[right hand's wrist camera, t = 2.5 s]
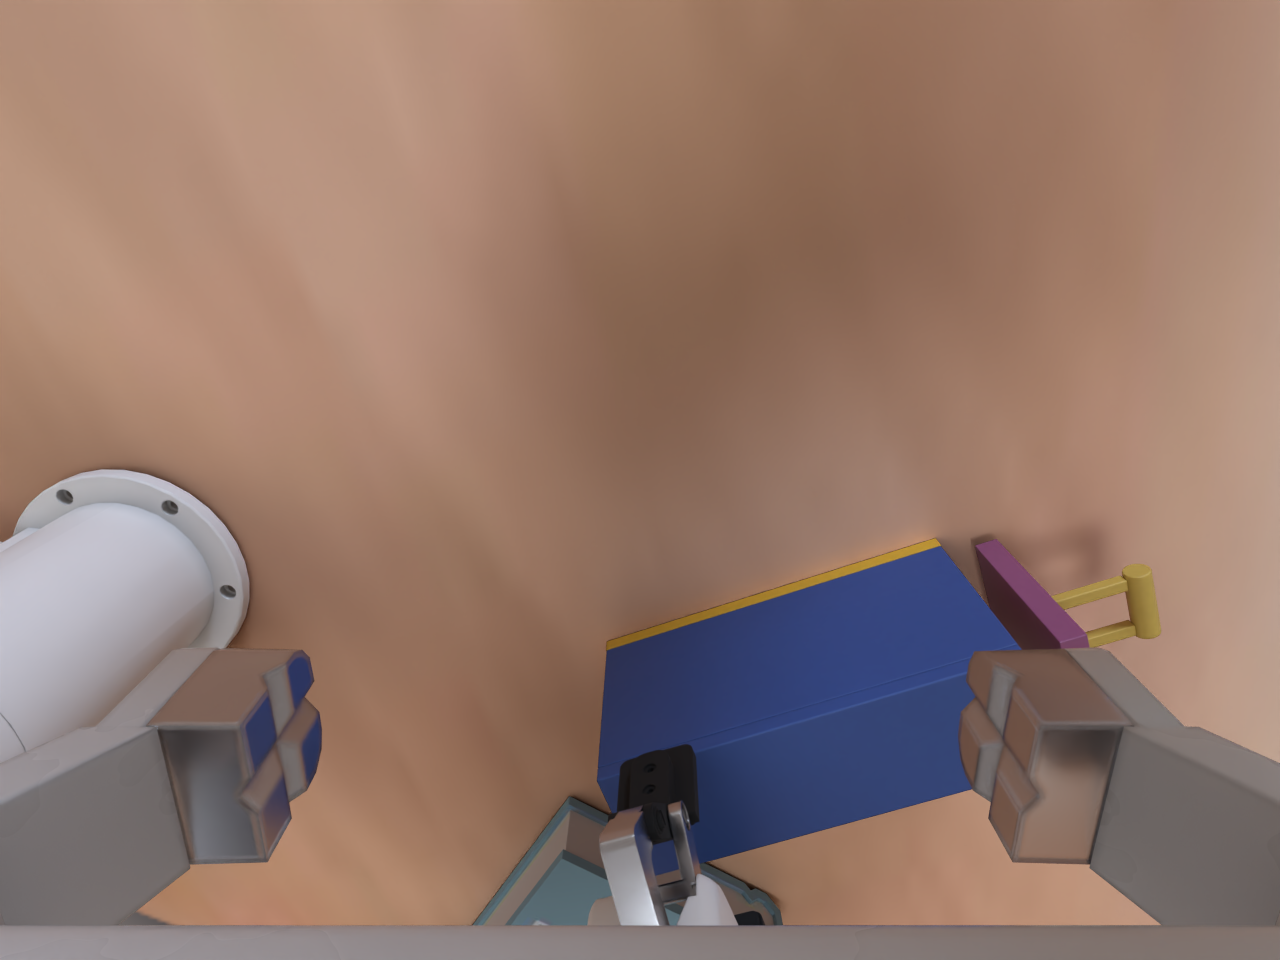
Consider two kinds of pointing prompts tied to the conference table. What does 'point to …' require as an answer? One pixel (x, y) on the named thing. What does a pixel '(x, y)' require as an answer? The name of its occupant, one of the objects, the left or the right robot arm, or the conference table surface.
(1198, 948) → the right robot arm
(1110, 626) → the drawer
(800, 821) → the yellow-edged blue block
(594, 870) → the book
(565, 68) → the conference table surface
